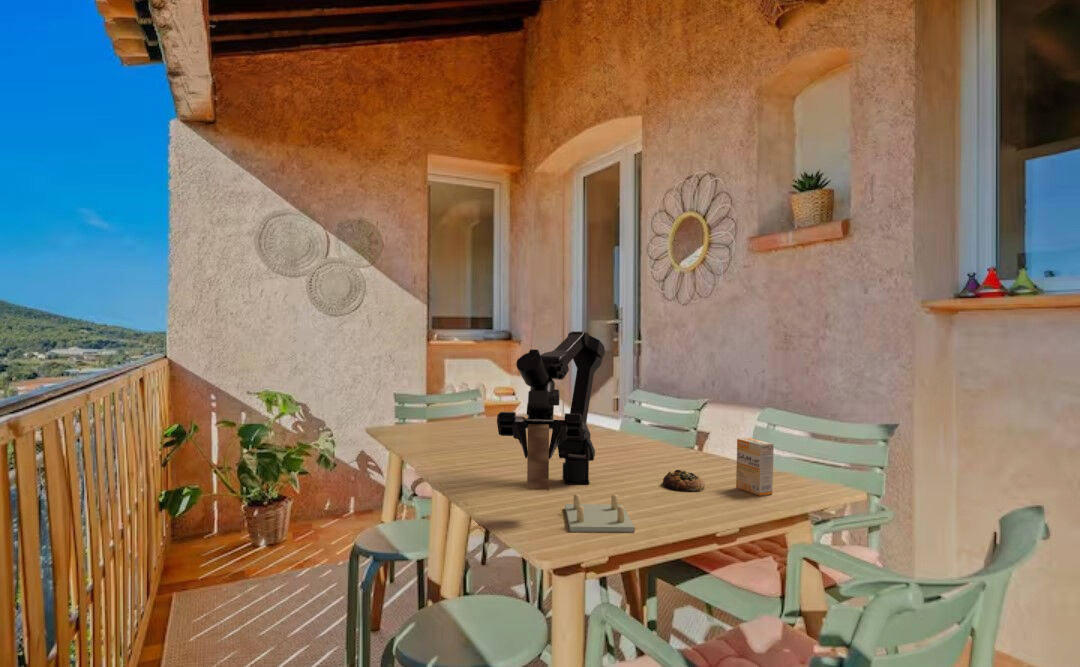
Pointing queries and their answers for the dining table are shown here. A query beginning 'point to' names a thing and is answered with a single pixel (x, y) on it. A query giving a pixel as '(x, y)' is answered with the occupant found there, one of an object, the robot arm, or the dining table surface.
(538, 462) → the walnut block
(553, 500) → the dining table surface
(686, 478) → the bread roll
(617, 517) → the pin plate
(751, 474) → the supplement box
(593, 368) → the robot arm
